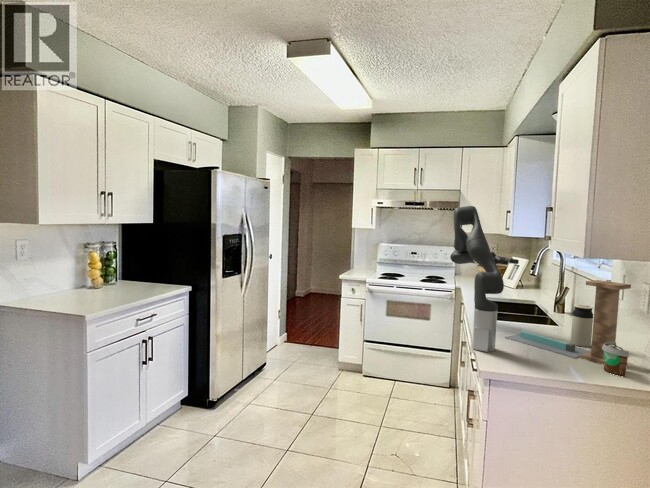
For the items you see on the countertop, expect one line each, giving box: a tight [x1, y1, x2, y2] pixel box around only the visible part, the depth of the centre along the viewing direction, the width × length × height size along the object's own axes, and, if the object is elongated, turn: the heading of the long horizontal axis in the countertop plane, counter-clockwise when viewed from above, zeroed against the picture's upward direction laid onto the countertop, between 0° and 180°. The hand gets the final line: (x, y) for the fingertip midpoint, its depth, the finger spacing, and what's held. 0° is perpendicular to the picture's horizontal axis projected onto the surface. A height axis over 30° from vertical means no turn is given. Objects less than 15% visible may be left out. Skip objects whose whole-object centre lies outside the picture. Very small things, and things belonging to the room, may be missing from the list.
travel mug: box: [570, 303, 594, 348], centre depth 186 cm, size 8×8×18 cm
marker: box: [519, 330, 576, 352], centre depth 185 cm, size 24×3×3 cm, turn 30°
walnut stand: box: [580, 279, 632, 366], centre depth 164 cm, size 12×11×32 cm
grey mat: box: [504, 333, 591, 359], centre depth 184 cm, size 32×16×1 cm, turn 32°
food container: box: [602, 341, 630, 378], centre depth 153 cm, size 12×6×10 cm, turn 163°
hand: (512, 262), depth 198 cm, fingers open, 8 cm apart
